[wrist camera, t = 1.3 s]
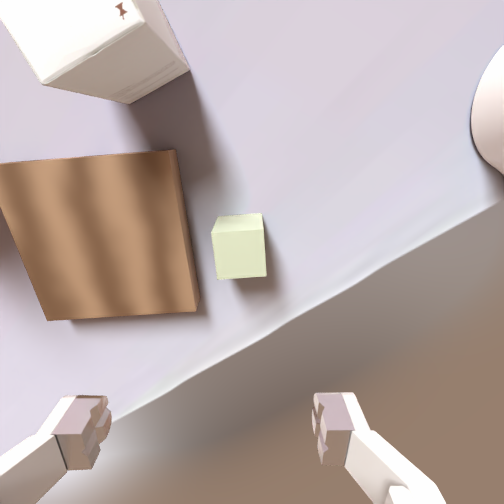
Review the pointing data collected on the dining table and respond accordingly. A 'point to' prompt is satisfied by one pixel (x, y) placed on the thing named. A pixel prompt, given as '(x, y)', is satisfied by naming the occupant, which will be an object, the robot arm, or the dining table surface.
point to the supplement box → (96, 45)
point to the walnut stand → (102, 234)
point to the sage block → (239, 246)
